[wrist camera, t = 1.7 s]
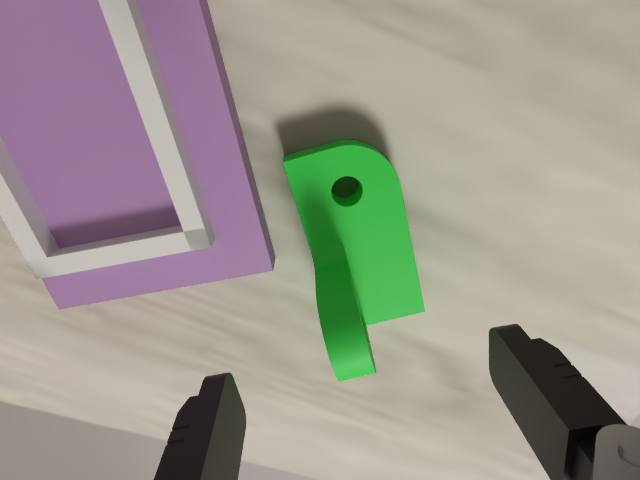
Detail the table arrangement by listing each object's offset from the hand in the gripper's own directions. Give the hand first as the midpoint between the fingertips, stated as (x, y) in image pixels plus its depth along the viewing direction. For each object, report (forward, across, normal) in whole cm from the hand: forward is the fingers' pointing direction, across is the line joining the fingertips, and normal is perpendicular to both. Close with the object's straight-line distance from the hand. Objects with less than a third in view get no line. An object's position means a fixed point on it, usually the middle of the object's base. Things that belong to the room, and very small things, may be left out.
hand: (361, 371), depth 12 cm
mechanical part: (+14, -2, +2) cm, 14 cm away
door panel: (+14, +11, -8) cm, 19 cm away
